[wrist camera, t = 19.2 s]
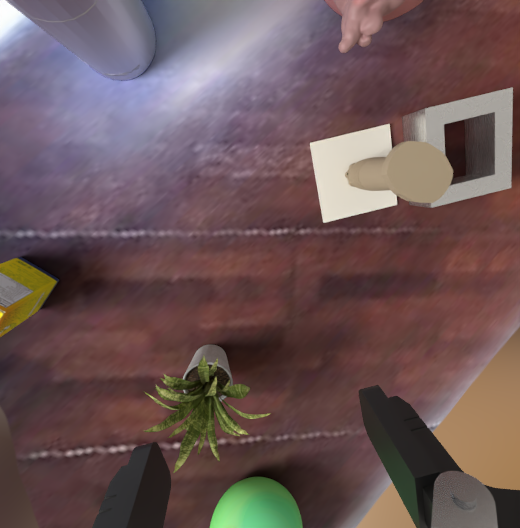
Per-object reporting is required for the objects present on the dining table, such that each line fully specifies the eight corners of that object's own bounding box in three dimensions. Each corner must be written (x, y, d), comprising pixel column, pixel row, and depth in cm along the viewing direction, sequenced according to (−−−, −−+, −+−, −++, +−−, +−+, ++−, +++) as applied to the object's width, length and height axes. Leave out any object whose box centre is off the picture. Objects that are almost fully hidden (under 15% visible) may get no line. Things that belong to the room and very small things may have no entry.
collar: (401, 116, 40) (424, 108, 35) (479, 98, 40) (512, 87, 36) (409, 204, 44) (430, 207, 39) (480, 186, 44) (511, 187, 39)
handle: (345, 146, 40) (408, 129, 26) (383, 170, 42) (462, 165, 27) (327, 179, 41) (377, 180, 27) (364, 201, 43) (432, 213, 28)
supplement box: (0, 288, 42) (-78, 324, 31) (20, 255, 41) (-53, 281, 30) (40, 310, 43) (-21, 353, 33) (61, 279, 42) (4, 312, 32)
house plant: (242, 300, 46) (247, 363, 30) (272, 371, 50) (291, 460, 34) (155, 333, 46) (115, 413, 30) (192, 401, 50) (174, 503, 34)
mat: (309, 143, 40) (310, 142, 40) (388, 124, 40) (389, 123, 40) (323, 222, 43) (324, 222, 43) (395, 204, 44) (397, 204, 43)
